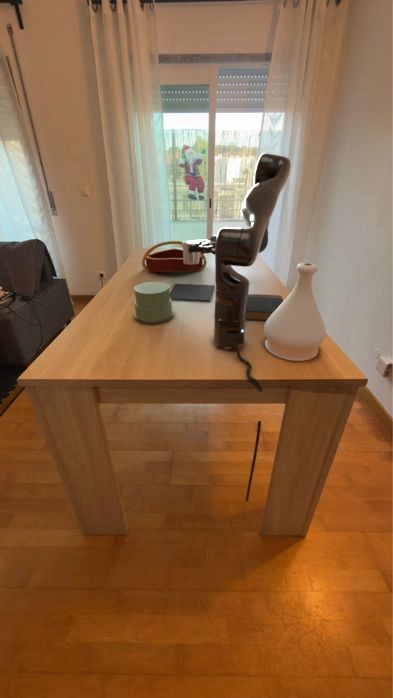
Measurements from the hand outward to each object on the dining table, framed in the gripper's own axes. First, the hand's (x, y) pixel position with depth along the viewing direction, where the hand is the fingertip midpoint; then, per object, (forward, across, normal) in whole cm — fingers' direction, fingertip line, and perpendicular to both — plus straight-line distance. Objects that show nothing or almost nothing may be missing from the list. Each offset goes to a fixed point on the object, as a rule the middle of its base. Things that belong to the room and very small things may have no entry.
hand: (185, 247), depth 113 cm
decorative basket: (-6, -35, +20) cm, 40 cm away
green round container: (+19, +17, +19) cm, 32 cm away
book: (-16, +26, +19) cm, 36 cm away
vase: (-14, +53, +19) cm, 58 cm away
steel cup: (-2, 0, +6) cm, 6 cm away
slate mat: (-2, 0, +19) cm, 19 cm away
